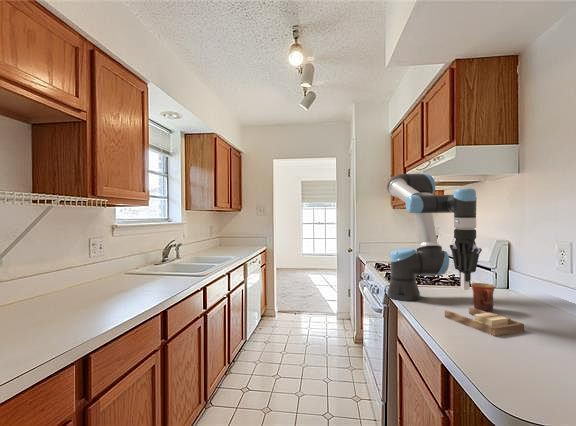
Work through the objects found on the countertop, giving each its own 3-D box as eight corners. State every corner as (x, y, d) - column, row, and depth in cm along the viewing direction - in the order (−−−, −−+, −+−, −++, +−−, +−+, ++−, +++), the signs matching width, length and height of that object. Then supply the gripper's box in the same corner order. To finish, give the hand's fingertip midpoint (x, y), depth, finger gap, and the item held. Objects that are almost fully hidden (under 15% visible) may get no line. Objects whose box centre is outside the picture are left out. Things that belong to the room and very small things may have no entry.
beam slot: (444, 317, 124) (444, 309, 124) (471, 313, 128) (471, 306, 128) (494, 336, 104) (494, 327, 104) (524, 331, 108) (524, 323, 108)
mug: (468, 306, 138) (467, 282, 138) (490, 306, 137) (489, 283, 137) (478, 314, 127) (478, 288, 127) (503, 315, 125) (502, 289, 125)
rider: (474, 325, 115) (474, 313, 115) (490, 323, 117) (489, 312, 117) (492, 332, 108) (491, 319, 108) (507, 329, 110) (507, 317, 110)
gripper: (444, 227, 128) (444, 286, 128) (471, 230, 115) (471, 294, 116) (458, 227, 130) (459, 284, 131) (487, 229, 118) (487, 292, 118)
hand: (465, 289), depth 123 cm, fingers closed
